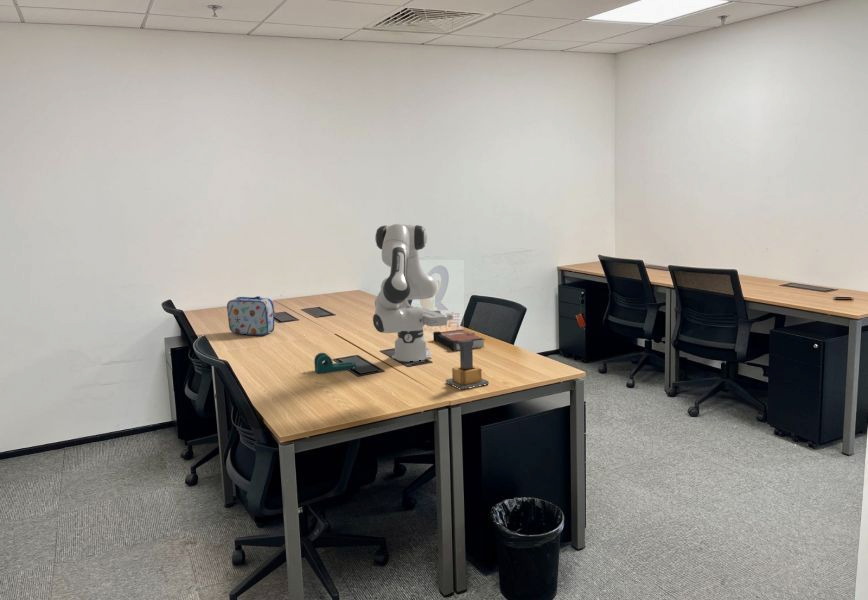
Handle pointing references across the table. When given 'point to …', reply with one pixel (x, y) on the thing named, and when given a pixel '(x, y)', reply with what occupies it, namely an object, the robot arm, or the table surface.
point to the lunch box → (251, 315)
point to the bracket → (330, 364)
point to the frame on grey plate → (466, 378)
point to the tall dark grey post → (466, 354)
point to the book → (457, 339)
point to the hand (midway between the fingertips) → (445, 314)
